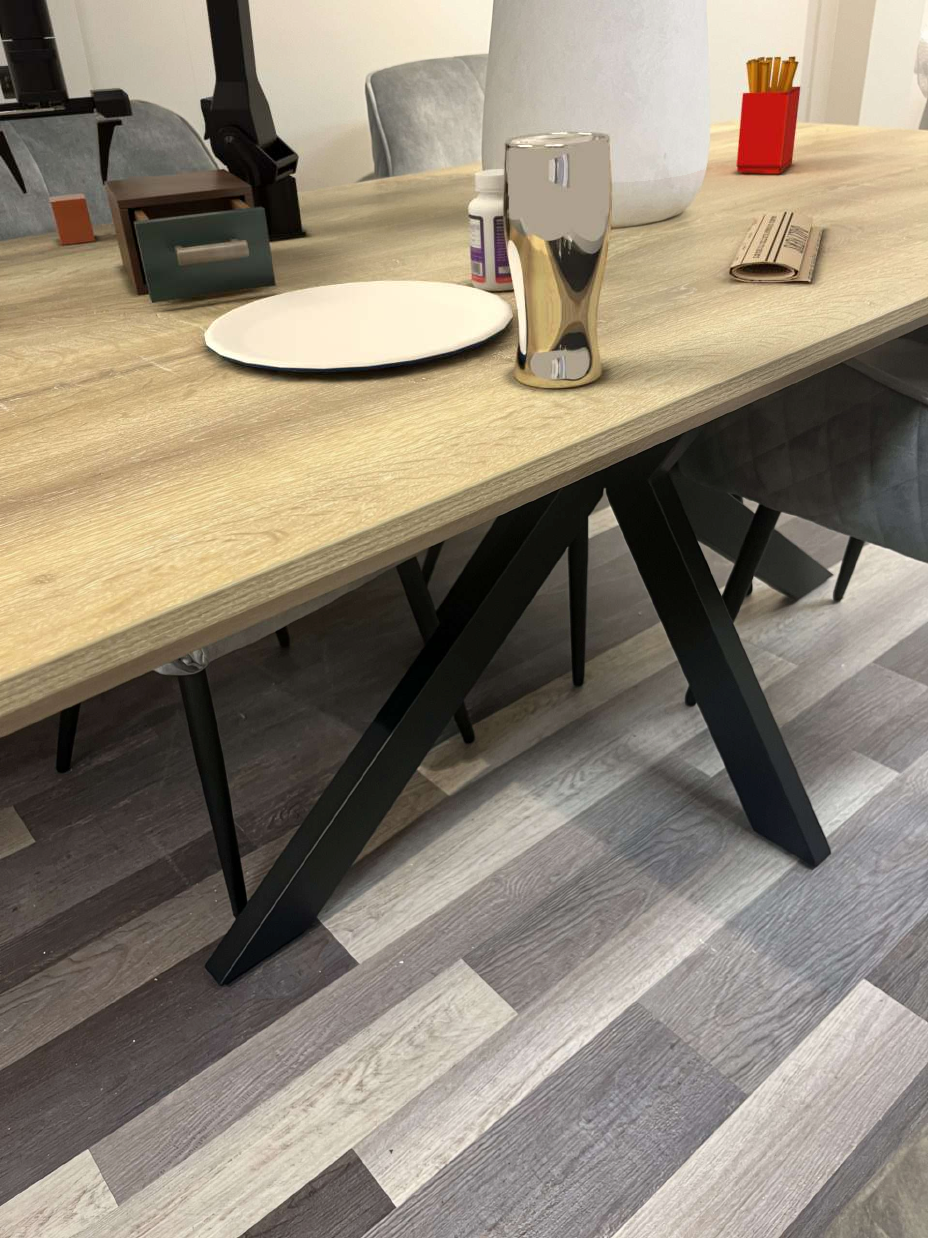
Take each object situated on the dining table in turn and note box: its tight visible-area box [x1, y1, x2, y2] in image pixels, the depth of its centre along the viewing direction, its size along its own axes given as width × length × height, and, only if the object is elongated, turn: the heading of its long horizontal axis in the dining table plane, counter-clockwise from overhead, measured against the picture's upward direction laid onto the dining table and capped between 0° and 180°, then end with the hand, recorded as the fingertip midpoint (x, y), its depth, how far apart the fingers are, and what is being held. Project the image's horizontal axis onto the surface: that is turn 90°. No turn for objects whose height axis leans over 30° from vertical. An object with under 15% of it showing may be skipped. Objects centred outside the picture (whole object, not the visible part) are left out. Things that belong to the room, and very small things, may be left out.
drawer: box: [129, 196, 277, 304], centre depth 93 cm, size 18×11×7 cm, turn 22°
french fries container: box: [736, 55, 802, 174], centre depth 138 cm, size 7×9×14 cm
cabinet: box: [104, 168, 254, 296], centre depth 102 cm, size 15×13×9 cm
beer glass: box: [503, 131, 613, 389], centre depth 65 cm, size 7×7×15 cm
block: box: [49, 193, 96, 246], centre depth 121 cm, size 4×4×5 cm
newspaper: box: [728, 211, 824, 283], centre depth 97 cm, size 24×7×2 cm, turn 161°
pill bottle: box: [467, 168, 514, 292], centre depth 90 cm, size 5×5×10 cm
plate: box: [203, 280, 514, 373], centre depth 81 cm, size 25×25×1 cm
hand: (65, 188), depth 120 cm, fingers open, 9 cm apart
